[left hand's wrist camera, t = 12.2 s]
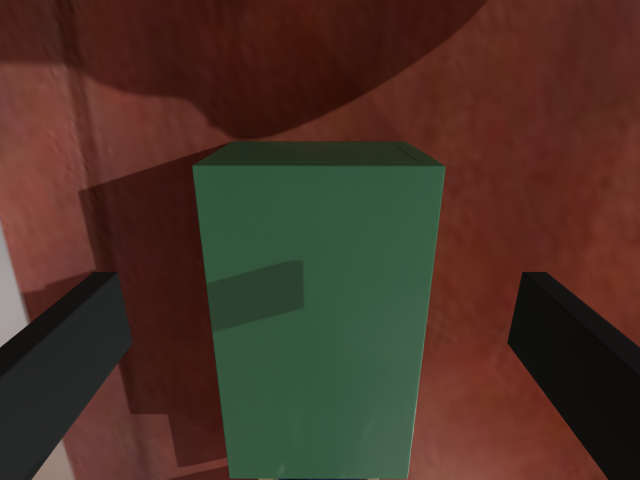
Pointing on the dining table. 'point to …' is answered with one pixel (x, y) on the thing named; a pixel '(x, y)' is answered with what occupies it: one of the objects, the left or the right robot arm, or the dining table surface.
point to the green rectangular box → (318, 302)
